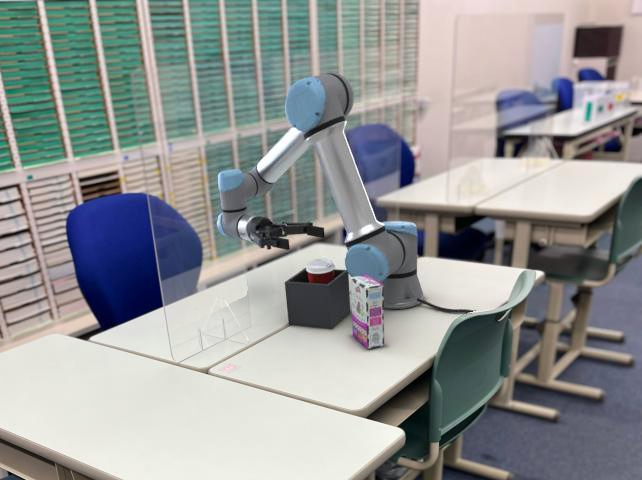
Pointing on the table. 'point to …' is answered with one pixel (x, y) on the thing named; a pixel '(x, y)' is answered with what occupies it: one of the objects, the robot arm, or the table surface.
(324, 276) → the coffee cup
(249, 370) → the table surface
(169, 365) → the table surface
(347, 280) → the trash bin
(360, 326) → the candy bar box
